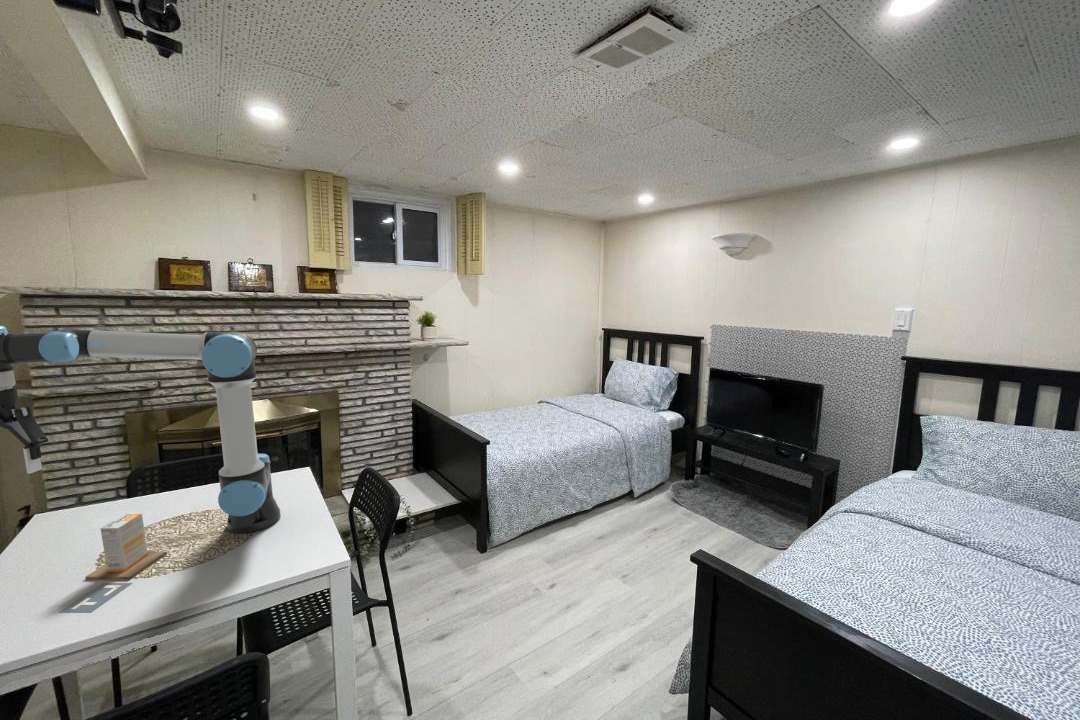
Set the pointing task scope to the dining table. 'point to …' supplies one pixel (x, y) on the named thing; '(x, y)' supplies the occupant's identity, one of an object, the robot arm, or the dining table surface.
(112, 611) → the dining table surface
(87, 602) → the blue gray tile
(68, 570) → the dining table surface
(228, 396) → the robot arm
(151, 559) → the coaster
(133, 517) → the supplement box
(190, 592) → the dining table surface
